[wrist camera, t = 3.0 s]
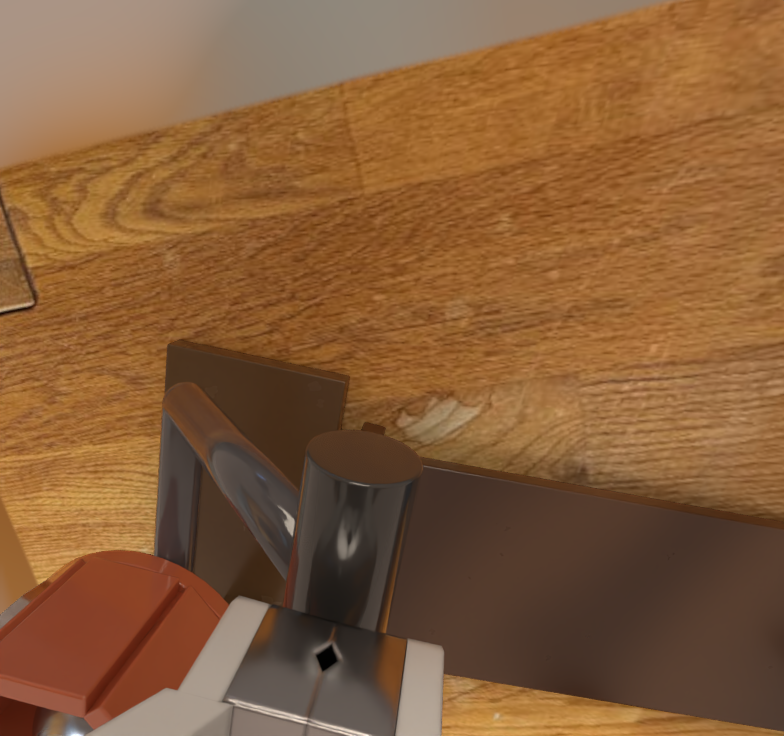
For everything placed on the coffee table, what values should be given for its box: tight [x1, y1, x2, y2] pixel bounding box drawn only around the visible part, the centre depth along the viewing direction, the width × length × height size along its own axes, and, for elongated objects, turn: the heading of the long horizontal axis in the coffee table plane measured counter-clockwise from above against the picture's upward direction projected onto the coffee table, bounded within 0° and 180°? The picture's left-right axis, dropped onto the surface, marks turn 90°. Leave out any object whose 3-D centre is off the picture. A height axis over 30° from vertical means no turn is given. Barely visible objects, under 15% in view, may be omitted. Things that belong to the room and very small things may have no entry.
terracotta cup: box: [0, 382, 423, 736], centre depth 13 cm, size 11×16×7 cm
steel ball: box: [32, 706, 93, 736], centre depth 14 cm, size 3×3×3 cm
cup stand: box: [165, 340, 350, 606], centre depth 21 cm, size 8×14×10 cm, turn 170°
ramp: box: [361, 423, 784, 731], centre depth 23 cm, size 26×10×3 cm, turn 80°
